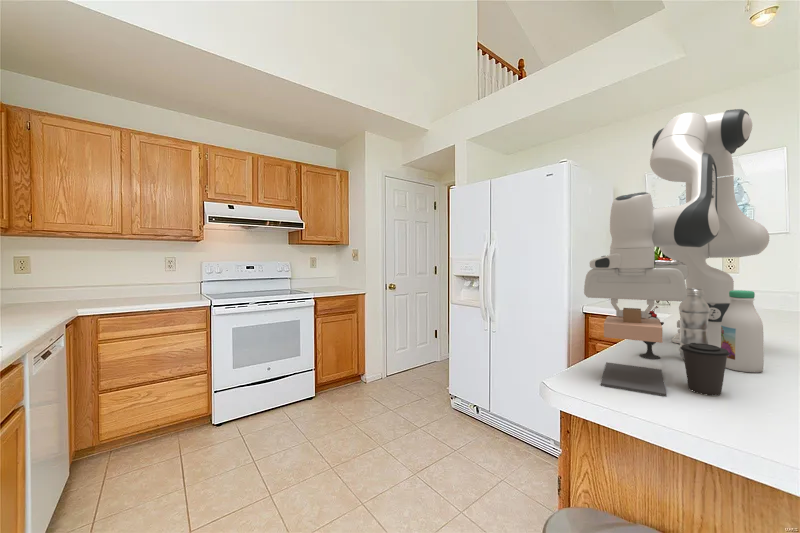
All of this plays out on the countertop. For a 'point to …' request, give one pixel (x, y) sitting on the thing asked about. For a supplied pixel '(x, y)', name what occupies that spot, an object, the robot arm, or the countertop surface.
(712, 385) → the coffee cup
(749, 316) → the milk bottle
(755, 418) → the countertop surface
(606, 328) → the cover
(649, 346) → the sundae
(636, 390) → the mat
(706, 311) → the plastic bottle
